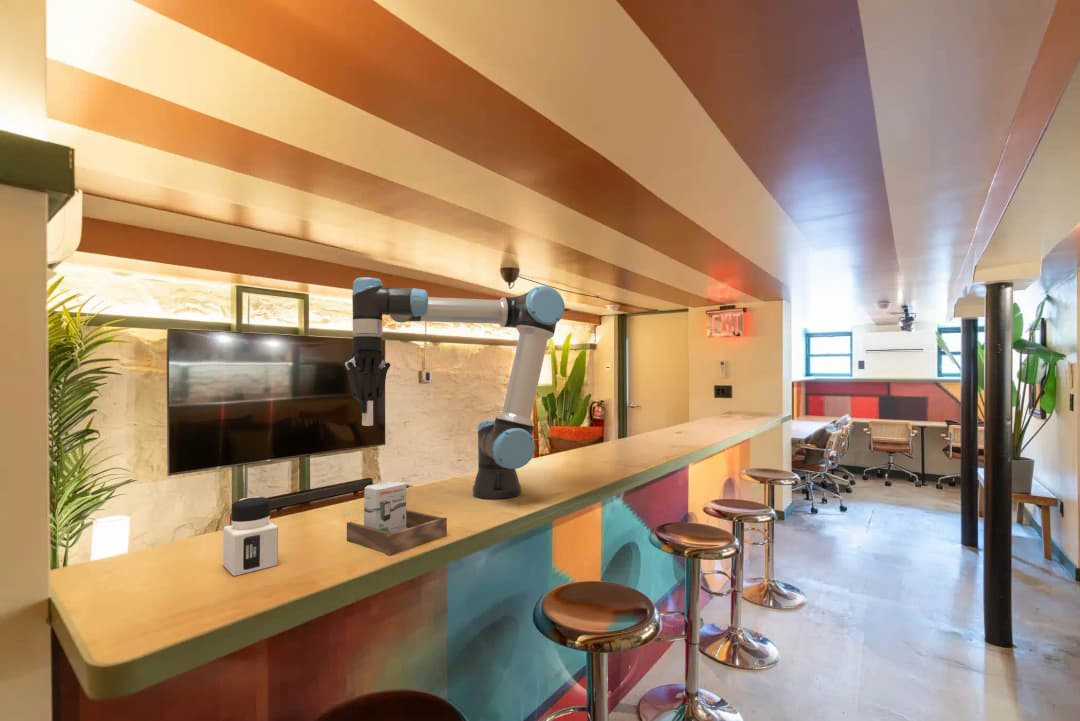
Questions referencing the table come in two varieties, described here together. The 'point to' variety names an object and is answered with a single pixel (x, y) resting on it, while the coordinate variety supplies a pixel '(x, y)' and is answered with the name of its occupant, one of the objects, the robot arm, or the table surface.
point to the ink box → (385, 506)
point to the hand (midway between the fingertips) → (367, 425)
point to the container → (250, 537)
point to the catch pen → (399, 533)
